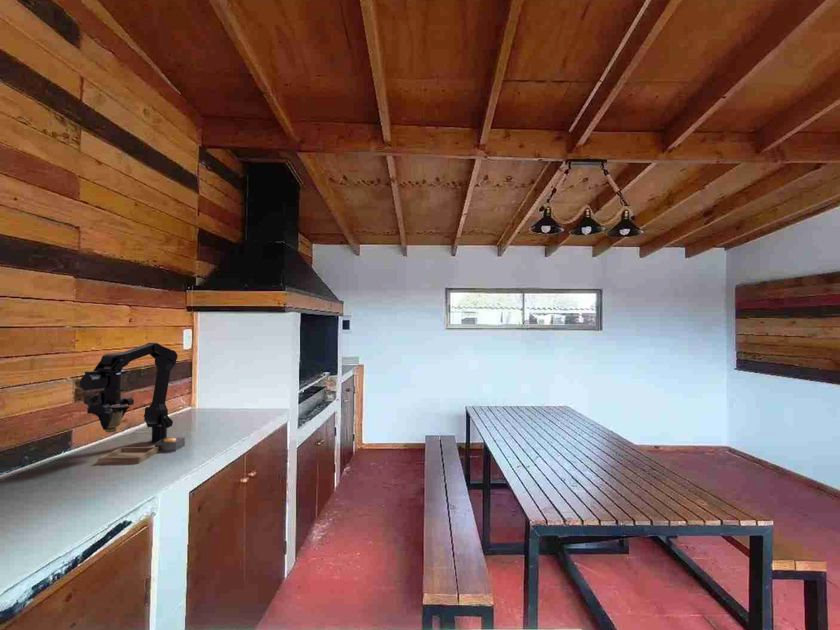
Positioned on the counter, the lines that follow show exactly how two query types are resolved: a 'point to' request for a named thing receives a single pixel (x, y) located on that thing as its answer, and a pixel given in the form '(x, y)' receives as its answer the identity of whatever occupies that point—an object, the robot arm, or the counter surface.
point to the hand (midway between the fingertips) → (110, 427)
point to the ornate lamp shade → (114, 421)
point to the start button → (170, 440)
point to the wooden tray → (128, 455)
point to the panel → (170, 444)
